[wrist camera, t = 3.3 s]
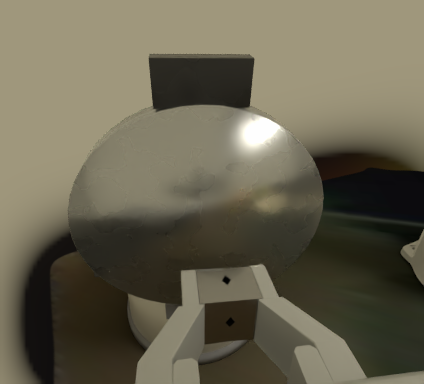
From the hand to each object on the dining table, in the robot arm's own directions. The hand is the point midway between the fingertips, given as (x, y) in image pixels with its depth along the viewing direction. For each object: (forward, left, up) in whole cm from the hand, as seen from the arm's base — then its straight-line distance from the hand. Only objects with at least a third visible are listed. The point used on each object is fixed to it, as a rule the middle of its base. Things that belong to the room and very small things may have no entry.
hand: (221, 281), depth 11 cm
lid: (-5, -8, -2) cm, 10 cm away
